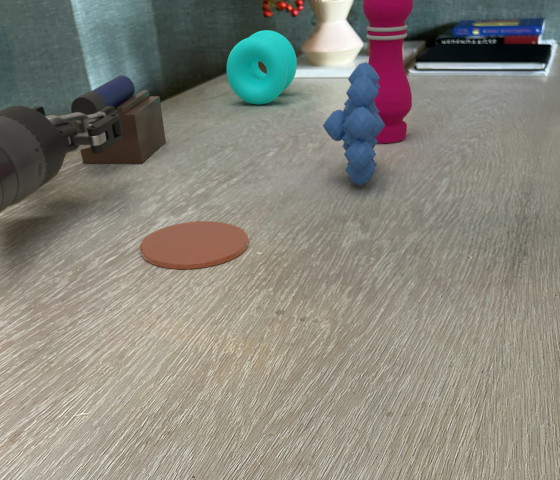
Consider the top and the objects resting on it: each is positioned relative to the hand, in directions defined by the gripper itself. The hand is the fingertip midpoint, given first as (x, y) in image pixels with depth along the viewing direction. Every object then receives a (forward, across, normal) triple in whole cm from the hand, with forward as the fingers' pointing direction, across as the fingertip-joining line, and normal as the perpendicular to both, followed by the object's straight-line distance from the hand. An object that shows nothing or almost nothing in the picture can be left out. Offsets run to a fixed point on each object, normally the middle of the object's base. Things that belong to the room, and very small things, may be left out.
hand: (77, 115), depth 76 cm
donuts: (+43, -13, +8) cm, 45 cm away
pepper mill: (+19, -34, +8) cm, 40 cm away
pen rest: (+12, 0, +8) cm, 14 cm away
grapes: (+2, -31, +8) cm, 32 cm away
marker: (+8, 0, 0) cm, 8 cm away
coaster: (-18, -18, +8) cm, 27 cm away
